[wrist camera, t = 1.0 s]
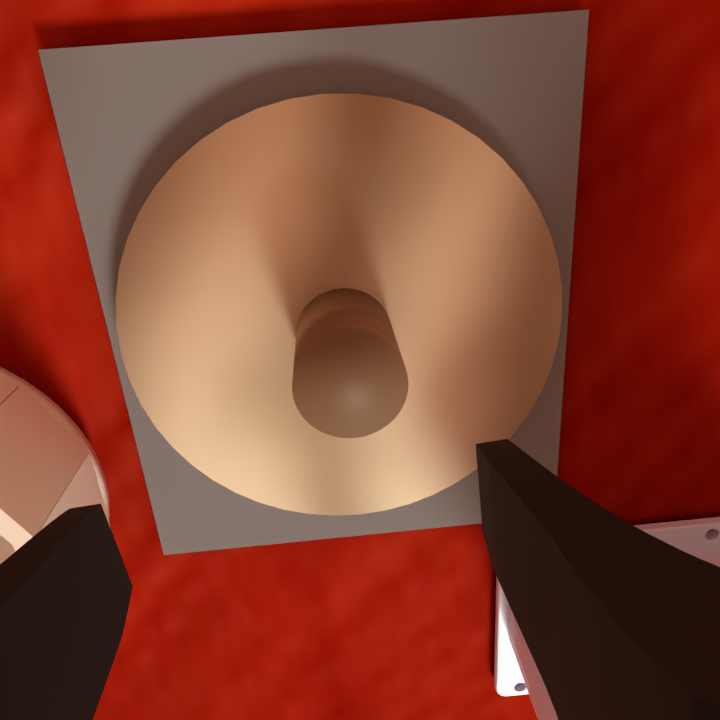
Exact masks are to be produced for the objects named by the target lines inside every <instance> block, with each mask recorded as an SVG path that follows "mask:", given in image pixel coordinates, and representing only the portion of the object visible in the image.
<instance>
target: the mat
mask: <svg viewBox="0 0 720 720" xmlns="http://www.w3.org/2000/svg"><path fill="white" fill-rule="evenodd" d="M588 19H589V10H576V11H562V12H549V13H535V14H521V15H508V16H494V17H480V18H467V19H453V20H439V21H426V22H412V23H398V24H385V25H371V26H357V27H344V28H330V29H316V30H303V31H289V32H275V33H262V34H248V35H234V36H220V37H207V38H193V39H179V40H166V41H152V42H138V43H125V44H111V45H97V46H84V47H70V48H56V49H43V50H38V52H39V56H40V60H41V64H42V68H43V72H44V76H45V80H46V84H47V88H48V92H49V96H50V100H51V104H52V108H53V112H54V116H55V120H56V124H57V128H58V132H59V136H60V140H61V144H62V148H63V152H64V156H65V160H66V164H67V168H68V172H69V176H70V180H71V184H72V188H73V192H74V196H75V200H76V204H77V208H78V212H79V216H80V220H81V224H82V228H83V232H84V236H85V240H86V244H87V248H88V252H89V256H90V260H91V264H92V268H93V272H94V276H95V280H96V284H97V288H98V292H99V296H100V300H101V304H102V308H103V312H104V316H105V320H106V324H107V328H108V332H109V336H110V340H111V344H112V348H113V352H114V356H115V360H116V364H117V368H118V372H119V377H120V381H121V385H122V389H123V393H124V397H125V401H126V405H127V409H128V413H129V417H130V421H131V425H132V429H133V433H134V437H135V441H136V445H137V449H138V453H139V457H140V461H141V465H142V469H143V473H144V477H145V481H146V485H147V489H148V493H149V497H150V501H151V505H152V509H153V513H154V517H155V521H156V525H157V529H158V533H159V537H160V541H161V545H162V549H163V553H164V555H168V554H178V553H188V552H198V551H208V550H218V549H228V548H239V547H249V546H259V545H269V544H279V543H289V542H299V541H309V540H319V539H329V538H339V537H349V536H359V535H369V534H379V533H389V532H399V531H409V530H419V529H429V528H439V527H449V526H459V525H469V524H479V523H482V517H481V505H480V492H479V480H478V469H476V470H475V471H473V472H472V473H470V474H469V475H467V476H466V477H464V478H463V479H461V480H460V481H458V482H457V483H455V484H453V485H451V486H449V487H447V488H446V489H444V490H442V491H440V492H438V493H436V494H434V495H432V496H429V497H426V498H424V499H421V500H419V501H416V502H413V503H411V504H408V505H404V506H400V507H396V508H393V509H389V510H385V511H379V512H372V513H366V514H359V515H337V516H333V515H317V514H306V513H300V512H294V511H289V510H283V509H280V508H276V507H273V506H269V505H266V504H262V503H259V502H257V501H254V500H252V499H249V498H247V497H245V496H242V495H240V494H237V493H235V492H233V491H231V490H230V489H228V488H226V487H224V486H222V485H221V484H219V483H217V482H215V481H213V480H212V479H211V478H209V477H208V476H206V475H205V474H204V473H202V472H201V471H199V470H198V469H197V468H195V467H194V466H192V465H191V464H190V463H189V462H188V461H187V460H186V459H185V458H184V457H183V456H181V455H180V454H179V453H178V452H177V451H176V450H175V449H174V448H173V447H172V446H171V445H170V444H169V442H168V441H167V440H166V439H165V438H164V437H163V435H162V434H161V433H160V432H159V431H158V430H157V428H156V427H155V426H154V424H153V423H152V421H151V419H150V418H149V416H148V415H147V413H146V412H145V410H144V409H143V407H142V406H141V404H140V402H139V400H138V397H137V395H136V393H135V391H134V389H133V387H132V385H131V383H130V381H129V378H128V374H127V371H126V368H125V365H124V362H123V359H122V356H121V351H120V345H119V339H118V333H117V328H116V290H117V281H118V272H119V267H120V263H121V259H122V256H123V252H124V248H125V244H126V241H127V238H128V236H129V234H130V231H131V229H132V227H133V224H134V222H135V220H136V218H137V215H138V213H139V211H140V210H141V208H142V206H143V205H144V203H145V201H146V200H147V198H148V197H149V195H150V193H151V192H152V190H153V189H154V187H155V186H156V184H157V183H158V182H159V181H160V180H161V178H162V177H163V176H164V175H165V174H166V173H167V171H168V170H169V169H170V168H171V167H172V165H173V164H174V163H175V162H176V161H177V160H178V159H179V158H180V157H182V156H183V155H184V154H185V153H186V152H187V151H188V150H190V149H191V148H192V147H193V146H194V145H195V144H196V143H197V142H199V141H200V140H201V139H203V138H204V137H206V136H207V135H209V134H210V133H212V132H213V131H215V130H217V129H218V128H220V127H221V126H223V125H224V124H226V123H227V122H229V121H231V120H234V119H236V118H238V117H240V116H242V115H244V114H247V113H249V112H251V111H253V110H255V109H257V108H260V107H264V106H267V105H270V104H274V103H277V102H281V101H284V100H287V99H291V98H298V97H304V96H311V95H318V94H364V95H372V96H379V97H386V98H392V99H395V100H399V101H402V102H406V103H409V104H413V105H416V106H420V107H423V108H425V109H427V110H429V111H432V112H434V113H436V114H438V115H440V116H443V117H445V118H447V119H449V120H451V121H453V122H455V123H456V124H458V125H459V126H461V127H463V128H464V129H466V130H467V131H469V132H470V133H472V134H473V135H475V136H477V137H478V138H479V139H481V140H482V141H483V142H484V143H485V144H486V145H488V146H489V147H490V148H491V149H492V150H493V151H495V152H496V153H497V154H498V155H499V156H500V157H501V158H503V160H504V161H505V162H506V163H507V164H508V165H509V167H510V168H511V169H512V170H513V171H514V172H515V173H516V175H517V176H518V177H519V178H520V179H521V180H522V182H523V183H524V185H525V186H526V188H527V190H528V191H529V193H530V194H531V196H532V197H533V199H534V200H535V202H536V204H537V205H538V207H539V209H540V211H541V214H542V216H543V218H544V220H545V222H546V225H547V227H548V229H549V231H550V234H551V237H552V241H553V244H554V248H555V251H556V254H557V258H558V263H559V270H560V277H561V284H562V319H561V327H560V335H559V342H558V345H557V349H556V353H555V357H554V360H553V364H552V367H551V370H550V372H549V375H548V377H547V380H546V382H545V384H544V387H543V389H542V391H541V393H540V395H539V397H538V399H537V400H536V402H535V404H534V406H533V407H532V409H531V411H530V413H529V414H528V416H527V417H526V418H525V420H524V421H523V422H522V424H521V425H520V426H519V428H518V429H517V430H516V432H515V433H514V434H513V435H512V437H511V438H510V439H509V440H510V441H511V442H512V443H514V444H515V445H516V446H518V447H519V448H520V449H522V450H523V451H524V452H525V453H527V454H528V455H529V456H531V457H532V458H533V459H535V460H536V461H537V462H538V463H540V464H541V465H542V466H544V467H545V468H546V469H548V470H549V471H550V472H552V473H553V474H554V475H556V476H557V473H558V458H559V443H560V429H561V414H562V399H563V385H564V370H565V356H566V341H567V326H568V312H569V297H570V283H571V268H572V253H573V239H574V224H575V209H576V195H577V180H578V166H579V151H580V136H581V122H582V107H583V92H584V78H585V63H586V49H587V34H588Z"/></svg>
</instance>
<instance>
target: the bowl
mask: <svg viewBox="0 0 720 720" xmlns="http://www.w3.org/2000/svg"><path fill="white" fill-rule="evenodd" d="M95 504H101V505H102V508H103V510H104V513H105V516H106V518H107V521H108V523H109V519H110V496H109V491H108V486H107V481H106V477H105V474H104V472H103V469H102V466H101V463H100V461H99V459H98V457H97V455H96V453H95V451H94V449H93V448H92V446H91V444H90V442H89V441H88V439H87V438H86V437H85V435H84V434H83V432H82V431H81V430H80V428H79V427H78V426H77V424H76V423H75V422H74V421H73V420H72V419H71V418H70V417H69V416H68V415H67V413H66V412H65V411H64V410H63V409H62V408H61V407H59V406H58V405H57V404H56V403H55V402H54V401H53V400H51V399H50V398H49V397H48V396H47V395H46V394H44V393H43V392H41V391H40V390H39V389H37V388H36V387H34V386H33V385H31V384H30V383H29V382H27V381H26V380H24V379H22V378H20V377H18V376H17V375H15V374H13V373H11V372H9V371H8V370H6V369H4V368H2V367H0V564H1V563H2V562H4V561H5V560H6V559H7V558H8V557H10V556H11V555H12V554H13V553H14V552H15V551H17V550H18V549H19V548H20V547H21V546H23V545H24V544H25V543H26V542H27V541H29V540H30V539H31V538H32V537H33V536H35V535H36V534H37V533H38V532H39V531H41V530H42V529H43V528H44V527H45V526H47V525H48V524H49V523H50V522H52V521H53V520H54V519H56V518H57V517H58V516H60V515H61V514H62V513H64V512H65V511H67V510H68V509H70V508H76V507H82V506H89V505H95ZM109 526H110V523H109Z"/></svg>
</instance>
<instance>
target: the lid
mask: <svg viewBox="0 0 720 720" xmlns="http://www.w3.org/2000/svg"><path fill="white" fill-rule="evenodd" d="M561 319H562V284H561V277H560V270H559V263H558V258H557V254H556V251H555V248H554V244H553V241H552V237H551V234H550V231H549V229H548V227H547V225H546V222H545V220H544V218H543V216H542V214H541V211H540V209H539V207H538V205H537V204H536V202H535V200H534V199H533V197H532V196H531V194H530V193H529V191H528V190H527V188H526V186H525V185H524V183H523V182H522V180H521V179H520V178H519V177H518V176H517V175H516V173H515V172H514V171H513V170H512V169H511V168H510V167H509V165H508V164H507V163H506V162H505V161H504V160H503V158H501V157H500V156H499V155H498V154H497V153H496V152H495V151H493V150H492V149H491V148H490V147H489V146H488V145H486V144H485V143H484V142H483V141H482V140H481V139H479V138H478V137H477V136H475V135H473V134H472V133H470V132H469V131H467V130H466V129H464V128H463V127H461V126H459V125H458V124H456V123H455V122H453V121H451V120H449V119H447V118H445V117H443V116H440V115H438V114H436V113H434V112H432V111H429V110H427V109H425V108H423V107H420V106H416V105H413V104H409V103H406V102H402V101H399V100H395V99H392V98H386V97H379V96H372V95H364V94H318V95H311V96H304V97H298V98H291V99H287V100H284V101H281V102H277V103H274V104H270V105H267V106H264V107H260V108H257V109H255V110H253V111H251V112H249V113H247V114H244V115H242V116H240V117H238V118H236V119H234V120H231V121H229V122H227V123H226V124H224V125H223V126H221V127H220V128H218V129H217V130H215V131H213V132H212V133H210V134H209V135H207V136H206V137H204V138H203V139H201V140H200V141H199V142H197V143H196V144H195V145H194V146H193V147H192V148H191V149H190V150H188V151H187V152H186V153H185V154H184V155H183V156H182V157H180V158H179V159H178V160H177V161H176V162H175V163H174V164H173V165H172V167H171V168H170V169H169V170H168V171H167V173H166V174H165V175H164V176H163V177H162V178H161V180H160V181H159V182H158V183H157V184H156V186H155V187H154V189H153V190H152V192H151V193H150V195H149V197H148V198H147V200H146V201H145V203H144V205H143V206H142V208H141V210H140V211H139V213H138V215H137V218H136V220H135V222H134V224H133V227H132V229H131V231H130V234H129V236H128V238H127V241H126V244H125V248H124V252H123V256H122V259H121V263H120V267H119V272H118V281H117V290H116V328H117V333H118V339H119V345H120V351H121V356H122V359H123V362H124V365H125V368H126V371H127V374H128V378H129V381H130V383H131V385H132V387H133V389H134V391H135V393H136V395H137V397H138V400H139V402H140V404H141V406H142V407H143V409H144V410H145V412H146V413H147V415H148V416H149V418H150V419H151V421H152V423H153V424H154V426H155V427H156V428H157V430H158V431H159V432H160V433H161V434H162V435H163V437H164V438H165V439H166V440H167V441H168V442H169V444H170V445H171V446H172V447H173V448H174V449H175V450H176V451H177V452H178V453H179V454H180V455H181V456H183V457H184V458H185V459H186V460H187V461H188V462H189V463H190V464H191V465H192V466H194V467H195V468H197V469H198V470H199V471H201V472H202V473H204V474H205V475H206V476H208V477H209V478H211V479H212V480H213V481H215V482H217V483H219V484H221V485H222V486H224V487H226V488H228V489H230V490H231V491H233V492H235V493H237V494H240V495H242V496H245V497H247V498H249V499H252V500H254V501H257V502H259V503H262V504H266V505H269V506H273V507H276V508H280V509H283V510H289V511H294V512H300V513H306V514H317V515H333V516H337V515H359V514H366V513H372V512H379V511H385V510H389V509H393V508H396V507H400V506H404V505H408V504H411V503H413V502H416V501H419V500H421V499H424V498H426V497H429V496H432V495H434V494H436V493H438V492H440V491H442V490H444V489H446V488H447V487H449V486H451V485H453V484H455V483H457V482H458V481H460V480H461V479H463V478H464V477H466V476H467V475H469V474H470V473H472V472H473V471H475V470H476V469H478V468H477V455H476V444H478V443H484V442H490V441H497V440H503V439H508V440H509V439H510V438H511V437H512V435H513V434H514V433H515V432H516V430H517V429H518V428H519V426H520V425H521V424H522V422H523V421H524V420H525V418H526V417H527V416H528V414H529V413H530V411H531V409H532V407H533V406H534V404H535V402H536V400H537V399H538V397H539V395H540V393H541V391H542V389H543V387H544V384H545V382H546V380H547V377H548V375H549V372H550V370H551V367H552V364H553V360H554V357H555V353H556V349H557V345H558V342H559V335H560V327H561Z"/></svg>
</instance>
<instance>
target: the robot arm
mask: <svg viewBox="0 0 720 720" xmlns="http://www.w3.org/2000/svg"><path fill="white" fill-rule="evenodd" d="M476 455H477V468H478V480H479V492H480V505H481V517H482V530H483V533H484V537H485V540H486V543H487V547H488V550H489V553H490V557H491V560H492V563H493V566H494V569H495V573H496V616H495V659H494V685H495V688H496V691H497V693H498V694H500V695H502V696H514V695H523V694H529V696H530V699H531V702H532V704H533V707H534V710H535V713H536V716H537V719H538V720H720V517H712V518H702V519H692V520H682V521H672V522H662V523H652V524H643V525H631V524H630V523H628V522H626V521H624V520H623V519H621V518H619V517H618V516H616V515H614V514H613V513H611V512H609V511H608V510H606V509H605V508H603V507H601V506H600V505H598V504H596V503H595V502H593V501H592V500H590V499H589V498H587V497H586V496H584V495H583V494H581V493H580V492H578V491H577V490H575V489H574V488H572V487H571V486H570V485H568V484H567V483H565V482H564V481H562V480H561V479H560V478H558V477H557V476H556V475H554V474H553V473H552V472H550V471H549V470H548V469H546V468H545V467H544V466H542V465H541V464H540V463H538V462H537V461H536V460H535V459H533V458H532V457H531V456H529V455H528V454H527V453H525V452H524V451H523V450H522V449H520V448H519V447H518V446H516V445H515V444H514V443H512V442H511V441H510V440H508V439H503V440H497V441H490V442H484V443H478V444H476ZM711 529H712V530H711ZM709 530H711V531H710V532H708V531H709ZM707 532H708V533H707ZM131 591H132V584H131V581H130V578H129V576H128V573H127V570H126V568H125V565H124V563H123V560H122V557H121V555H120V552H119V550H118V547H117V544H116V542H115V539H114V536H113V534H112V531H111V529H110V526H109V523H108V521H107V518H106V516H105V513H104V510H103V508H102V505H101V504H95V505H89V506H82V507H76V508H70V509H68V510H67V511H65V512H64V513H62V514H61V515H60V516H58V517H57V518H56V519H54V520H53V521H52V522H50V523H49V524H48V525H47V526H45V527H44V528H43V529H42V530H41V531H39V532H38V533H37V534H36V535H35V536H33V537H32V538H31V539H30V540H29V541H27V542H26V543H25V544H24V545H23V546H21V547H20V548H19V549H18V550H17V551H15V552H14V553H13V554H12V555H11V556H10V557H8V558H7V559H6V560H5V561H4V562H2V563H1V564H0V720H93V717H94V714H95V711H96V709H97V706H98V703H99V700H100V697H101V695H102V692H103V689H104V686H105V684H106V681H107V678H108V675H109V672H110V670H111V667H112V664H113V661H114V658H115V655H116V653H117V650H118V647H119V644H120V641H121V638H122V634H123V629H124V625H125V621H126V616H127V612H128V606H129V601H130V596H131Z"/></svg>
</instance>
